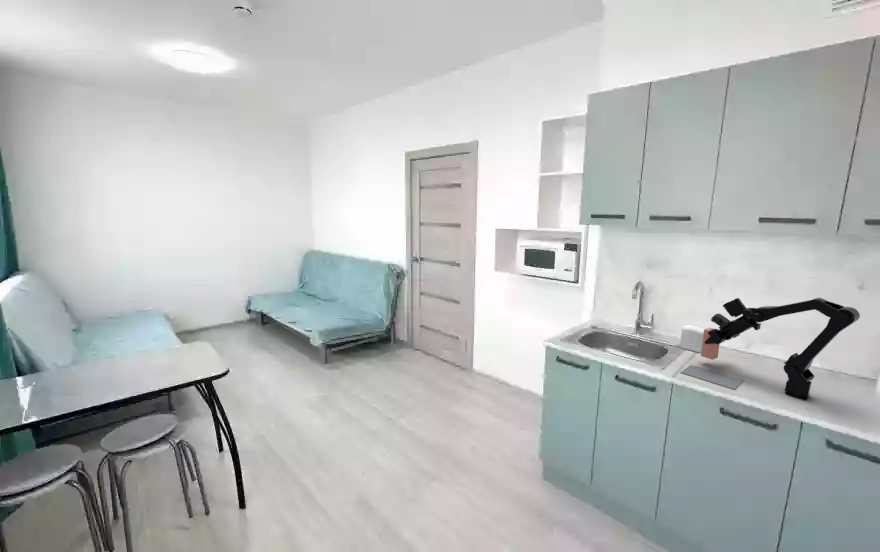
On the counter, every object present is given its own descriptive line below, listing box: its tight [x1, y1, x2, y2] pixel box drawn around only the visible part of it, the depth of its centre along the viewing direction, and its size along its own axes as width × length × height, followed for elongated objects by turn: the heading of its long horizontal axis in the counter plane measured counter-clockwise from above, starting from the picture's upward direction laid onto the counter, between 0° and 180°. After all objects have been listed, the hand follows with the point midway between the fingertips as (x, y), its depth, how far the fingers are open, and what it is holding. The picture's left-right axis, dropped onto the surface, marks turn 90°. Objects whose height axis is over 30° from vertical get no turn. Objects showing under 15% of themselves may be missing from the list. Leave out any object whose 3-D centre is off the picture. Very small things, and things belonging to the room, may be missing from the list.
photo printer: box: [679, 325, 704, 354], centre depth 201 cm, size 10×4×12 cm, turn 39°
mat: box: [680, 364, 745, 391], centre depth 171 cm, size 20×13×1 cm, turn 40°
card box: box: [700, 327, 720, 361], centre depth 181 cm, size 5×4×13 cm
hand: (707, 342), depth 182 cm, fingers closed on card box, 5 cm apart
